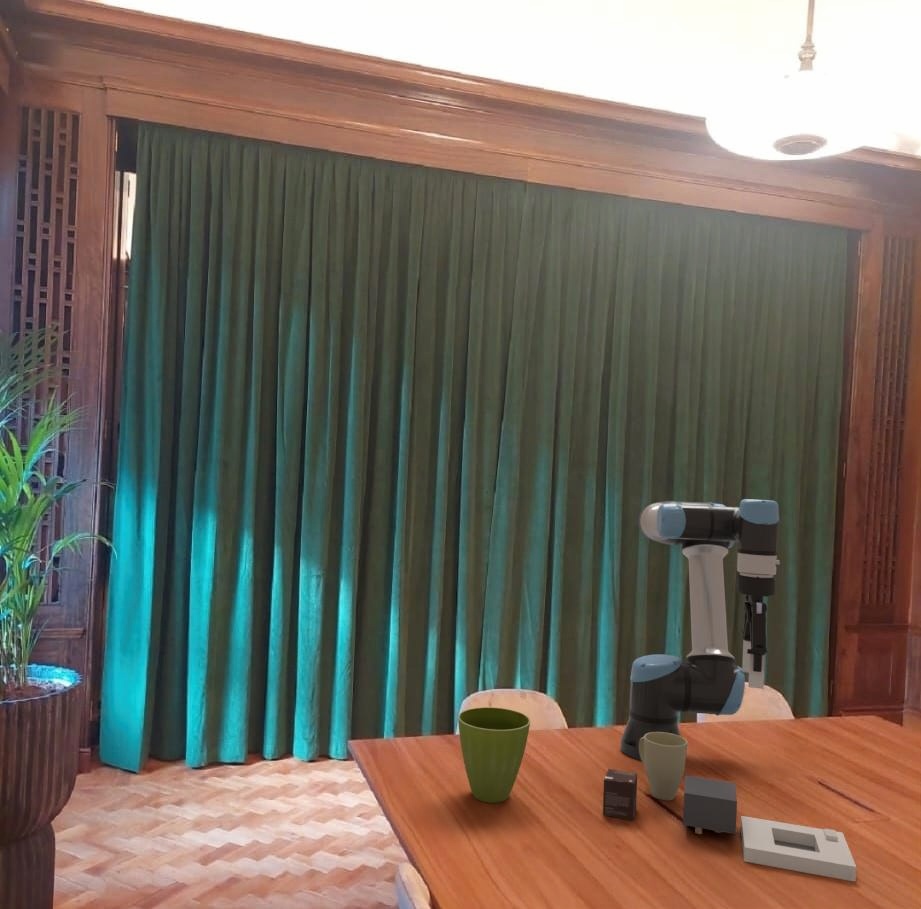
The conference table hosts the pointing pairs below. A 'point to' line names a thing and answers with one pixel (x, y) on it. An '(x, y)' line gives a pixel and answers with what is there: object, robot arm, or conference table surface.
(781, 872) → the conference table surface
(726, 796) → the plug
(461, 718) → the flower pot
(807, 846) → the socket
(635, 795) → the box
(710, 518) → the robot arm
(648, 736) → the mug
